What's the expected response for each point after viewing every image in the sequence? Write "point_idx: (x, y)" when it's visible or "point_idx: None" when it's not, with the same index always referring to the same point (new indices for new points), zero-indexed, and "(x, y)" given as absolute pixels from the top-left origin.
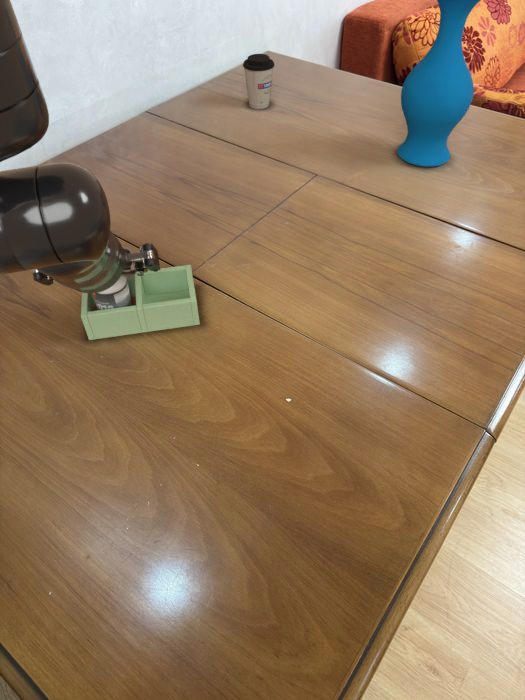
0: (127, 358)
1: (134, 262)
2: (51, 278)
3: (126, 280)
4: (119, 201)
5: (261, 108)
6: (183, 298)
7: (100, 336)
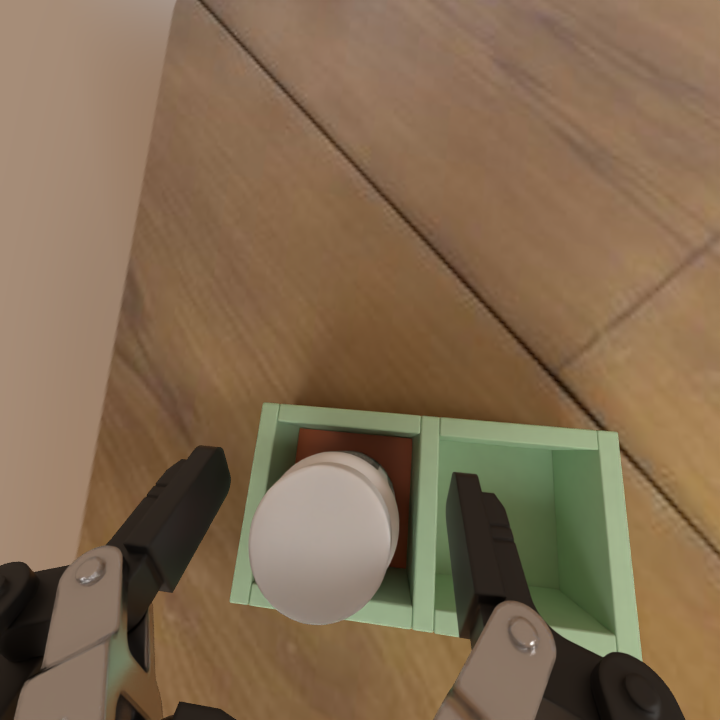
0: (355, 682)
1: (470, 611)
2: (37, 655)
3: (398, 536)
4: (395, 75)
5: None
6: (533, 481)
7: None
